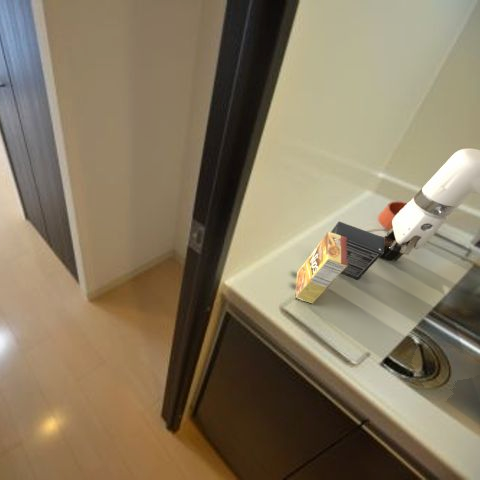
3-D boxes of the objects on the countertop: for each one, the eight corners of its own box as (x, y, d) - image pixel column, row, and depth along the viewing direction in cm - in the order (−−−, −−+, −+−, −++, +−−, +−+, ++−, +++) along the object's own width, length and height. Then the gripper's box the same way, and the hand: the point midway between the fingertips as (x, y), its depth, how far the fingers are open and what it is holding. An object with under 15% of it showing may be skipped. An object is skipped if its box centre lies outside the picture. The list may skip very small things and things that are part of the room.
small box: (361, 263, 85) (386, 236, 77) (358, 280, 81) (384, 254, 74) (318, 246, 89) (339, 219, 81) (314, 262, 85) (335, 235, 77)
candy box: (296, 272, 83) (326, 230, 71) (314, 277, 82) (347, 236, 70) (293, 299, 77) (326, 258, 66) (312, 305, 76) (349, 265, 65)
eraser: (394, 252, 88) (404, 242, 85) (396, 260, 86) (407, 251, 83) (370, 245, 90) (379, 235, 87) (371, 253, 88) (381, 243, 85)
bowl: (411, 217, 98) (422, 206, 95) (417, 239, 92) (429, 228, 89) (376, 209, 100) (385, 197, 97) (380, 229, 94) (390, 218, 91)
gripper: (464, 230, 68) (404, 280, 82) (444, 185, 79) (394, 236, 92) (423, 220, 70) (371, 270, 84) (410, 177, 80) (365, 229, 94)
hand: (384, 252), depth 88 cm, fingers closed on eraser, 3 cm apart
